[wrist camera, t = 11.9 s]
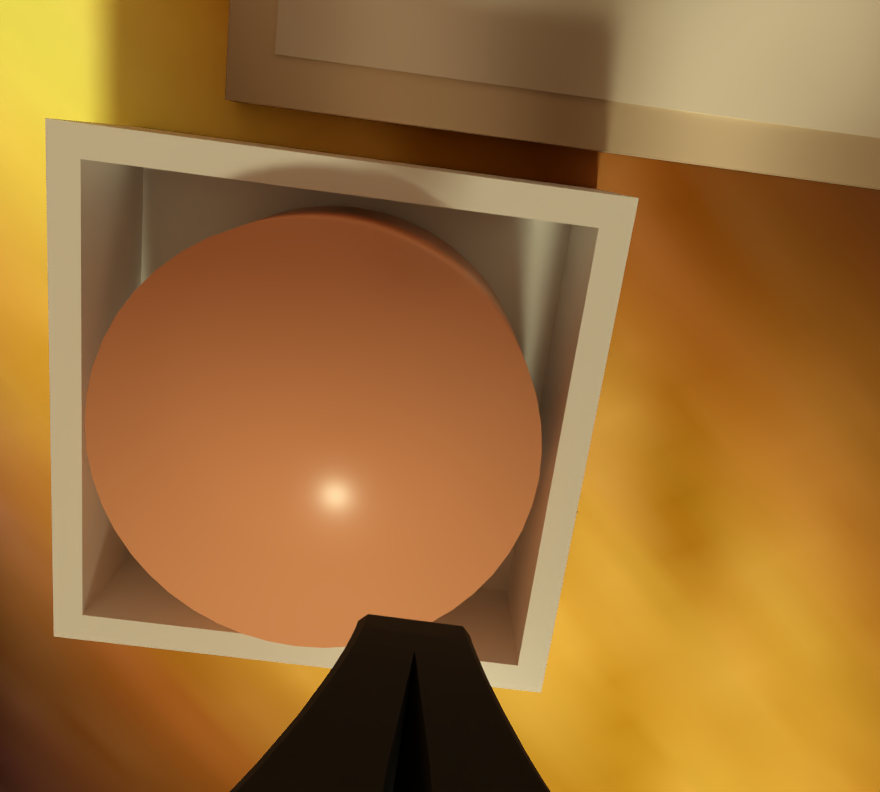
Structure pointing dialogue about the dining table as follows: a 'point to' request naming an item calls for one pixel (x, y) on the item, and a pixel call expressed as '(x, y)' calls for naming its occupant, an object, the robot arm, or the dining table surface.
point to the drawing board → (587, 74)
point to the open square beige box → (283, 189)
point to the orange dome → (315, 426)
